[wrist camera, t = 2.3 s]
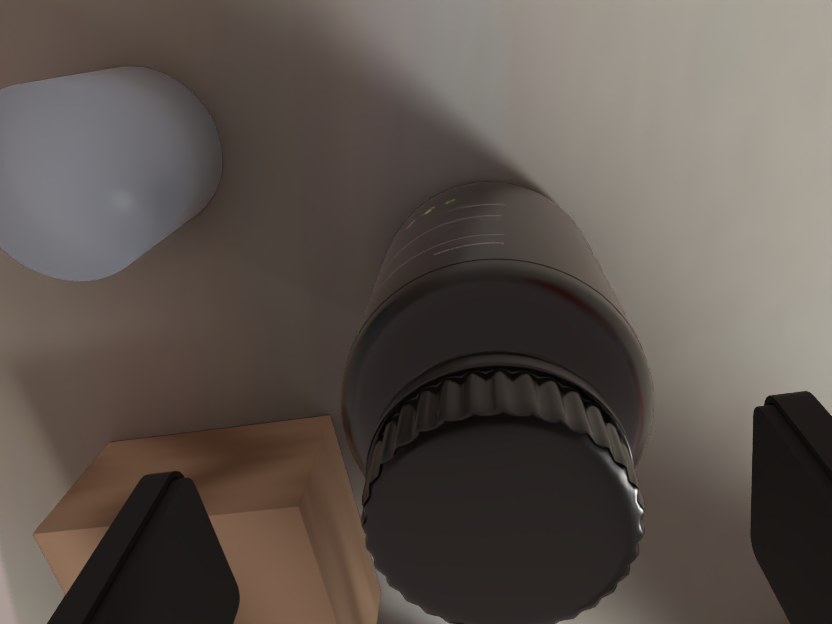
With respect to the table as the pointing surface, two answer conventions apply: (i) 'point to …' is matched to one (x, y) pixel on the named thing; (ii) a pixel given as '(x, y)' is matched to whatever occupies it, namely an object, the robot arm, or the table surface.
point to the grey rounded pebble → (101, 168)
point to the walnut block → (242, 516)
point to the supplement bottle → (497, 413)
